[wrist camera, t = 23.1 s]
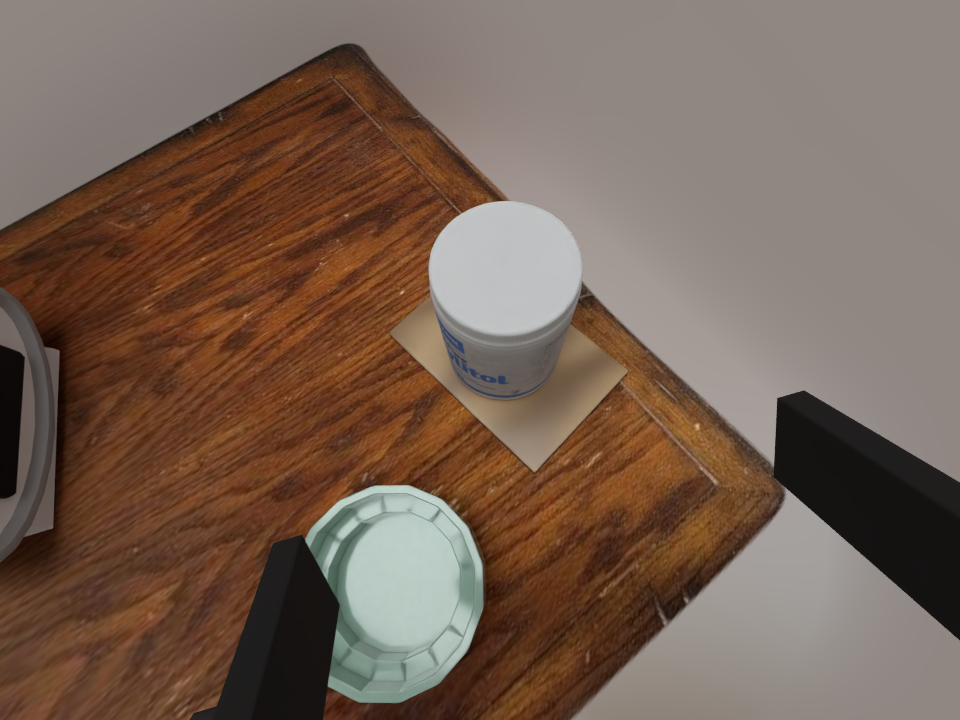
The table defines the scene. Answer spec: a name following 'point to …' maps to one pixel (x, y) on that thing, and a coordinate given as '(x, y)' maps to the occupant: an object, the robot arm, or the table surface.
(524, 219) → the supplement tub
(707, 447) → the table surface
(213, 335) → the table surface
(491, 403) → the mat
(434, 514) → the bowl
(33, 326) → the alarm clock
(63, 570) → the table surface
